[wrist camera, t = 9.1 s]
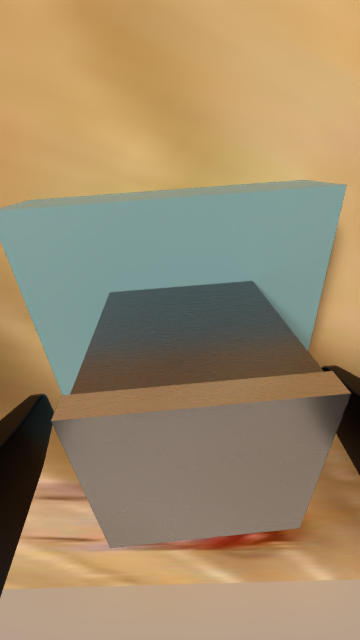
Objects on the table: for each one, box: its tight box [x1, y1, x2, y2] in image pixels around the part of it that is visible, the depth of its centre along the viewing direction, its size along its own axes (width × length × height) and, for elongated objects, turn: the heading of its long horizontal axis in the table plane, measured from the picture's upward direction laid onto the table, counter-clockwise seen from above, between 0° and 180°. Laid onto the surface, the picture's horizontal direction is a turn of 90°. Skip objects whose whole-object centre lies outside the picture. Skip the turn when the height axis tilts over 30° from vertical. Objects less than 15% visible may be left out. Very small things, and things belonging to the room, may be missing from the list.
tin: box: [51, 281, 351, 548], centre depth 9 cm, size 5×5×6 cm
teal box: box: [0, 180, 347, 395], centre depth 12 cm, size 11×11×4 cm
